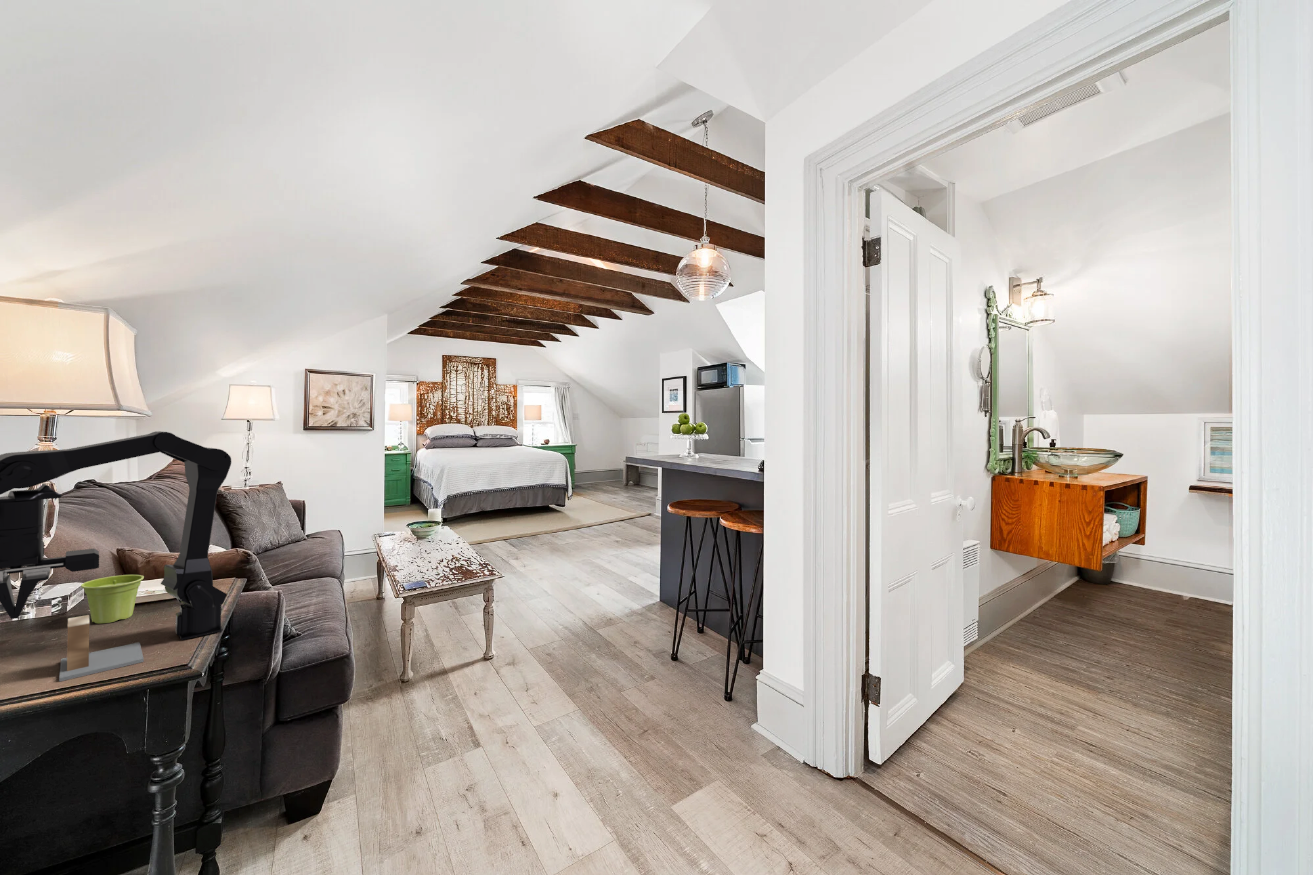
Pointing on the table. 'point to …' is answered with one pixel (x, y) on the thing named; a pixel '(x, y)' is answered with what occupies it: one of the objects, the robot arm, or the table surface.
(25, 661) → the table surface
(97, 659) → the mat
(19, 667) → the table surface
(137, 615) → the table surface
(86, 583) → the plant pot
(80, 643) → the slab
